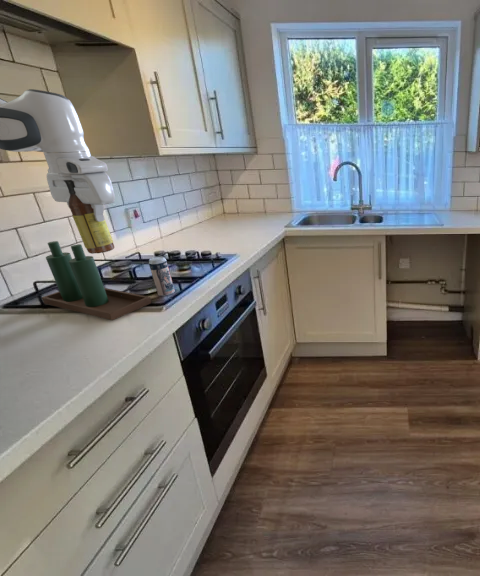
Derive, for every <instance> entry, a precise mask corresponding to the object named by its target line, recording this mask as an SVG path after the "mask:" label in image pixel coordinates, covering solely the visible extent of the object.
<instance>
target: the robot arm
mask: <svg viewBox="0 0 480 576" xmlns="http://www.w3.org/2000/svg"><path fill="white" fill-rule="evenodd" d="M84 135H85V133H84V129H83V126H82V123H81V120H80V117H79V116H78V113H77V111H76V108H75V106H74V105H73V103H72V101H71V100H70V99H69V98H68V97H66V96H65V95H63V94H60V93H56V92H52V91H46V90H41V89H36V88H35V89H34V88H33V89H32V88H29V89H26V90H24V91H23V92H22V94H21V95H19V96H18V97H16V98H14V99H12V100H10V101H6V100H4V99H3V98H1V97H0V150H3V151H7V152H14V153H21V152H24V153H25V152H36V153H37V152H39V153H43V155H44V159H45V161H46V164H47V166H48V169H47V173H46V182H47V185H48V188H49V192H50V195H51V198H52V199H53V200H54V201H55V202H57V203H58V202H59V203H66V205H67V207H68V208H69V204H68V201H69V198H70V193H69V190H68V188H67V185H66V183H65V182H64V180H72V181H74V185H75V188H74V190H75V192H76V196H77V197H78V198H79V199H80V201H81V202H82V203H84V204H91V207H92V208H93V209H94V215H92V216H93V218H94V221H97V222H101V221H104V220H105V221H106V219H105V215H104V211H105V206H104V205H110V204H114V203H115V200H116V195H115V190H114V187H113V183H112V180H111V178H110V176H109V174H108V173H107V172H108V171H109V168H108V165H107V163H106V162H105V161H103V160H100V159H99V158H97V157H95V156H93V155H92V154H91V151H90V148H89V147H88V145H87V144H86V142H85V138H84V137H85V136H84Z"/></svg>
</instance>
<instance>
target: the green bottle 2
mask: <svg viewBox="0 0 480 576" xmlns="http://www.w3.org/2000/svg"><path fill="white" fill-rule="evenodd" d="M70 249H71V252H72V254H73V257H74V258H72V259H71V260H69V264H70V266H71V269H72V272H73V274H74V277H75V279H76V282H77V284H78V287H79V290H80V292H81V295H82V297H83V300H84V303H85V305H86V306H87V307H96V306H100V305H103V304H105V303H107V302H108V301H109V300H108V297H107V294H106V292H105V289H104V288H105V286H104V283H103V281H102V277H101V275H100V272H99V269H98V267H97V264H96V261H95V259H94V256H92V255H86V254H85V250H84V249H83V245H82V244H81V243H79V244H73V245H70Z"/></svg>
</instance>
